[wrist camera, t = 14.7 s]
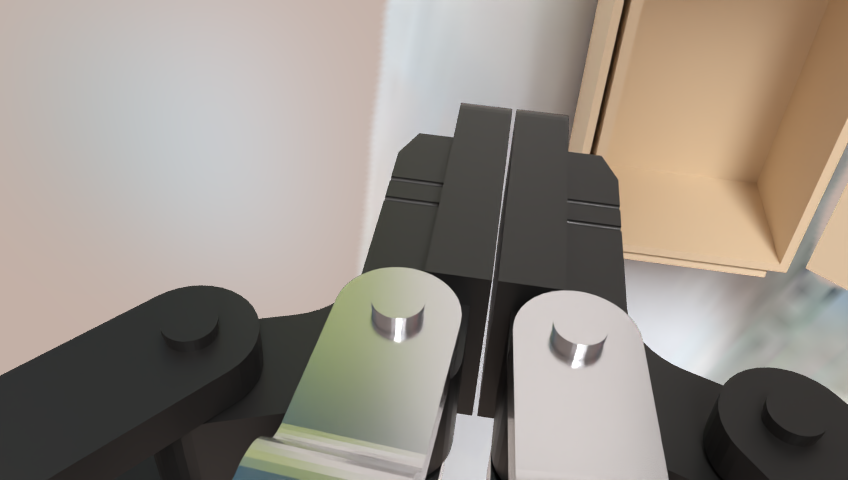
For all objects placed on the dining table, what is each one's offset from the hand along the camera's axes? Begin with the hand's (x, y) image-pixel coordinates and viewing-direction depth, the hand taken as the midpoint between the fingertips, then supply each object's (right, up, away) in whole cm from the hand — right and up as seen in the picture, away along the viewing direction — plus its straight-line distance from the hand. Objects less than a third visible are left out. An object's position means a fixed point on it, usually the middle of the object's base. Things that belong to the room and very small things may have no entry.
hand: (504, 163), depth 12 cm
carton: (+15, +11, +31) cm, 36 cm away
